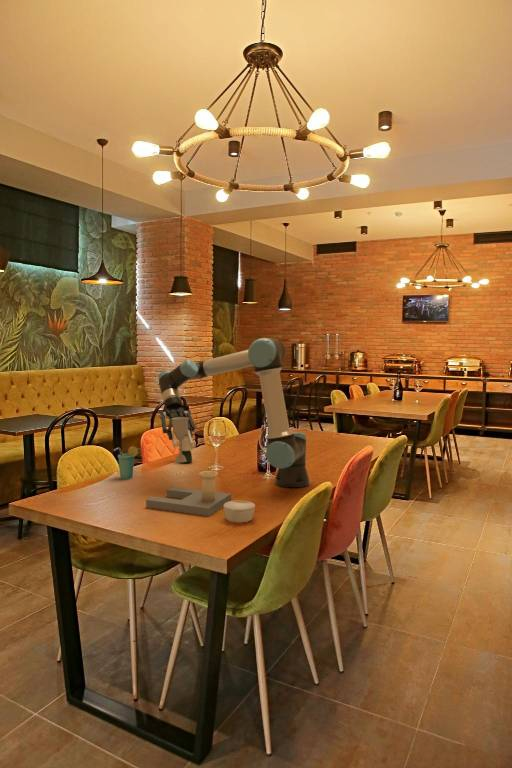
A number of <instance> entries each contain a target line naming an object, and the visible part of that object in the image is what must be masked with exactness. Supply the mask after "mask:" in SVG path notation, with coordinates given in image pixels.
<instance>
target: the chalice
mask: <svg viewBox="0 0 512 768" xmlns="http://www.w3.org/2000/svg"><path fill="white" fill-rule="evenodd" d="M188 419H189V418H187V416H184V417H176V418H172V420H173V422H172V431H173V432H174V436H175V439H176V441H177V440H179V442H178V445H179V447H178V451H179V452H178V454H177V455H176V457H175V460H174V462H175V463H182V462H186V461H187V460H186V458H185V456H184V455H182V450H183V449H182V440H184V438H185V436H187V431H188V424H189V423H188Z"/></svg>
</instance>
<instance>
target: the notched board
mask: <svg viewBox="0 0 512 768" xmlns="http://www.w3.org/2000/svg"><path fill="white" fill-rule="evenodd" d="M198 476H199V478H201V489H196V488H195V489H194V488H186V487H179V486H171V487H169V488H168V489H166V497H161V496H151V497H149V498H147V499H145V501H146V502H145V503H146V504H145V508H146V507H147V509H152V508H155V509H154V510H159V509H161V511H166V510H169V511H168V512H173V511H175V513H180V512H183V513H182V514H187V513H190V514H189V515H194V514H196V515H197V516H202V515H204V517H210V516H212V515H213V514H215V513H216V512H217V510H218V509H219V510H221V509H222V508H224V507H223V506H224V504H225V503H226V502H229V501H232V493H227V492H220V491H216V478H218V476H219V472H218V471H215V470H203V471H200V472H199V474H198ZM170 497H171V498H170ZM177 498H178V499H177ZM221 507H222V508H221ZM220 508H221V509H220ZM219 510H218V511H219ZM215 511H216V512H215ZM214 512H215V513H214ZM212 513H213V514H212ZM211 514H212V515H211Z"/></svg>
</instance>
